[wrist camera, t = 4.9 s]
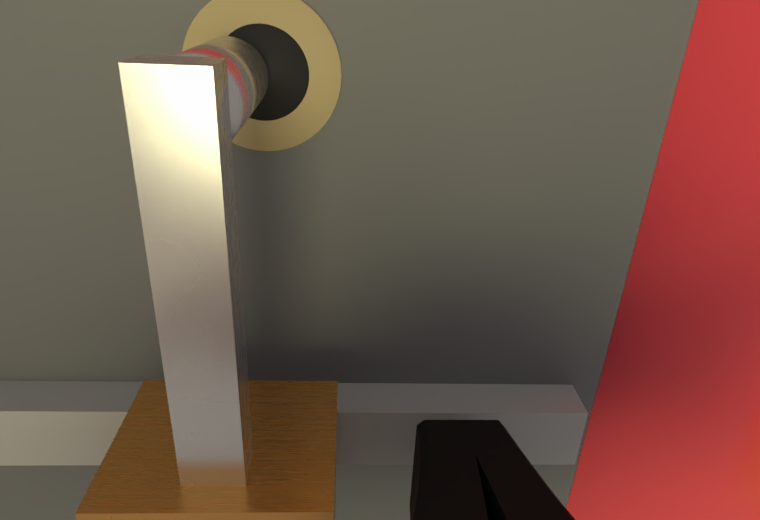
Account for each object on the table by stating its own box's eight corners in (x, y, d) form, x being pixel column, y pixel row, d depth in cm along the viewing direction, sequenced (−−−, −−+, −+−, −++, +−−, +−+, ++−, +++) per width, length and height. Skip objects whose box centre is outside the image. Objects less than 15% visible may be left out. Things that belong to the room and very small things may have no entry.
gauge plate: (-253, 534, 13) (-341, 614, 11) (-710, -187, 7) (-1019, -235, 6) (538, 527, 14) (562, 600, 12) (687, -102, 8) (769, -122, 7)
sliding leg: (177, 484, 11) (115, 666, 8) (109, 31, 7) (-44, 63, 4) (336, 483, 11) (331, 661, 8) (343, 42, 8) (338, 78, 5)
